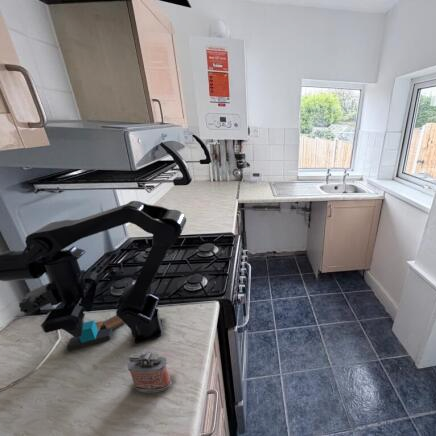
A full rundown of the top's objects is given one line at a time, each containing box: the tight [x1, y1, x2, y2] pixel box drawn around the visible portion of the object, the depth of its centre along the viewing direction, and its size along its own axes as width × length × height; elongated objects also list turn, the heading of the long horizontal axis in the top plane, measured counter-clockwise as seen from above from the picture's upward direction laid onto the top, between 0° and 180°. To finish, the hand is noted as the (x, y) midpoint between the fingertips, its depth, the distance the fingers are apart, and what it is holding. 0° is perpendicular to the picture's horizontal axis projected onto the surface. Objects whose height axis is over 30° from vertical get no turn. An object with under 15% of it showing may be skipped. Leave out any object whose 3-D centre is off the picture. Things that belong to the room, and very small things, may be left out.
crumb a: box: [95, 321, 104, 331], centre depth 67 cm, size 4×4×1 cm
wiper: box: [66, 319, 113, 351], centre depth 63 cm, size 9×3×6 cm, turn 115°
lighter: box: [126, 351, 172, 393], centre depth 52 cm, size 8×3×10 cm, turn 92°
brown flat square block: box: [102, 314, 125, 331], centre depth 69 cm, size 4×4×1 cm
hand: (84, 322), depth 62 cm, fingers open, 9 cm apart
